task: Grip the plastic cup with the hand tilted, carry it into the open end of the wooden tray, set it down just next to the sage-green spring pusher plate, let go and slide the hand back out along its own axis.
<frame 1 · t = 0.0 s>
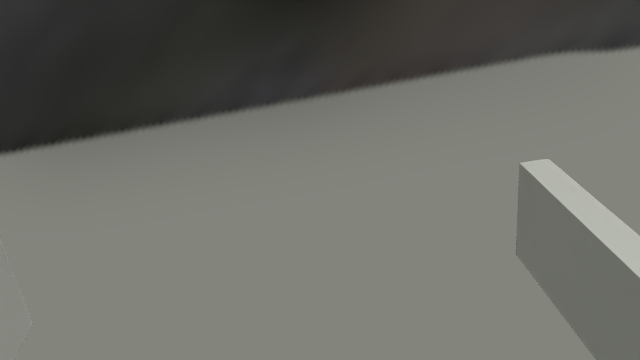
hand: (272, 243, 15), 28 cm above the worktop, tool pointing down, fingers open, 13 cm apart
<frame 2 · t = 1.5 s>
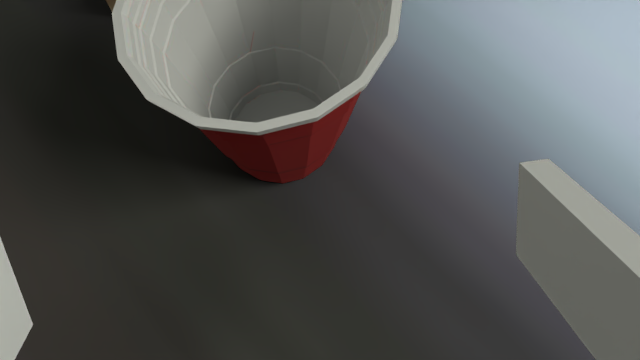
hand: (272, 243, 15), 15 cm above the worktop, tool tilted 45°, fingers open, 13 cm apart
plastic cup: (278, 134, 33), on the worktop
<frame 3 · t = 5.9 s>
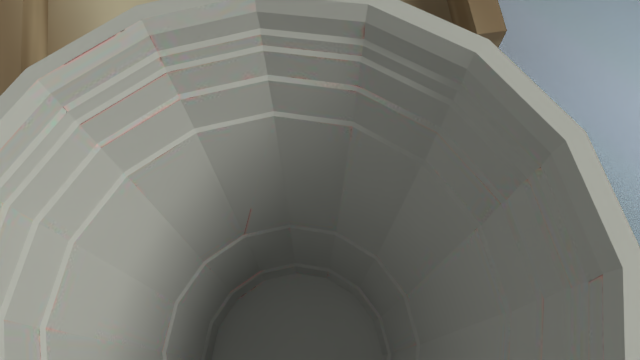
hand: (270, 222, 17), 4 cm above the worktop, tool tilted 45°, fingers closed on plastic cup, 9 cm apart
plastic cup: (292, 353, 19), on the worktop, touching gripper
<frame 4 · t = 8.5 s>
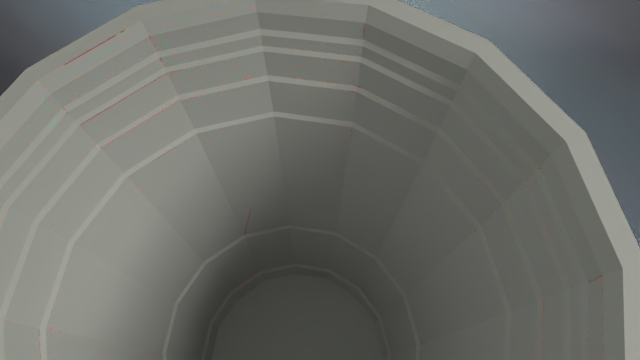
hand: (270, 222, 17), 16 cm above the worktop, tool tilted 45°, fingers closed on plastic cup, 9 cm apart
plastic cup: (292, 354, 19), point 12 cm above the worktop, touching gripper
when the fingers open (6 cm above the worktop, at t = 11.6 s): plastic cup moves 3 cm, resting on wooden tray.
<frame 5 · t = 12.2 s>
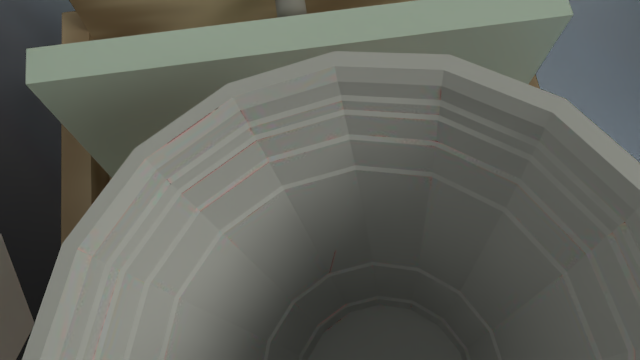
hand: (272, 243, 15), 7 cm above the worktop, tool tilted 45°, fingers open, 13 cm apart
pusher: (306, 106, 19), point 5 cm above the worktop, slide at 0.0 cm
wooden tray: (320, 241, 23), on the worktop
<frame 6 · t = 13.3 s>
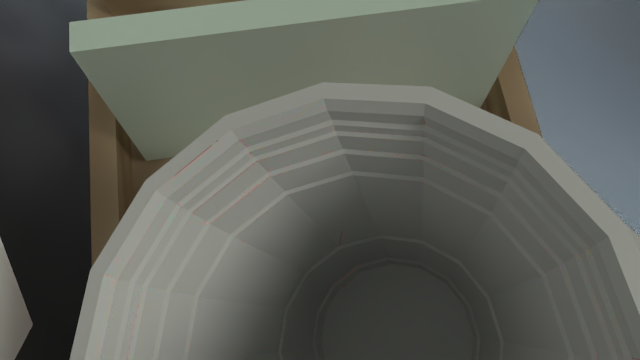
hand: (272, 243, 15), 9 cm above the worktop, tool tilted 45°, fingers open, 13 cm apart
pusher: (310, 77, 21), point 5 cm above the worktop, slide at 0.0 cm
wooden tray: (322, 204, 25), on the worktop
plastic cup: (391, 335, 22), point 1 cm above the worktop, touching gripper, wooden tray
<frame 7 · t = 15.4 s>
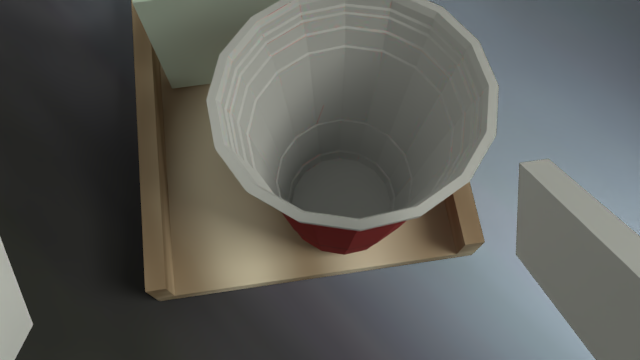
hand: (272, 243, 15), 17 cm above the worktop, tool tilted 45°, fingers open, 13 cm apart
pusher: (282, 26, 32), point 5 cm above the worktop, slide at 0.0 cm
wooden tray: (294, 120, 36), on the worktop
plastic cup: (337, 202, 33), point 1 cm above the worktop, touching wooden tray
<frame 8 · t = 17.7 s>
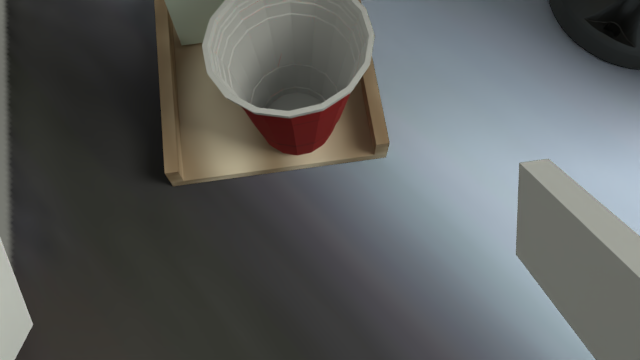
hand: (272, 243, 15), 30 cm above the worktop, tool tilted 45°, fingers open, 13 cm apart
pusher: (256, 0, 47), point 5 cm above the worktop, slide at 0.0 cm
wooden tray: (266, 68, 51), on the worktop
plastic cup: (295, 122, 49), point 1 cm above the worktop, touching wooden tray
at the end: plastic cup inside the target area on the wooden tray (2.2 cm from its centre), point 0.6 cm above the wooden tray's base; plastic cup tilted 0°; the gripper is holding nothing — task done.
